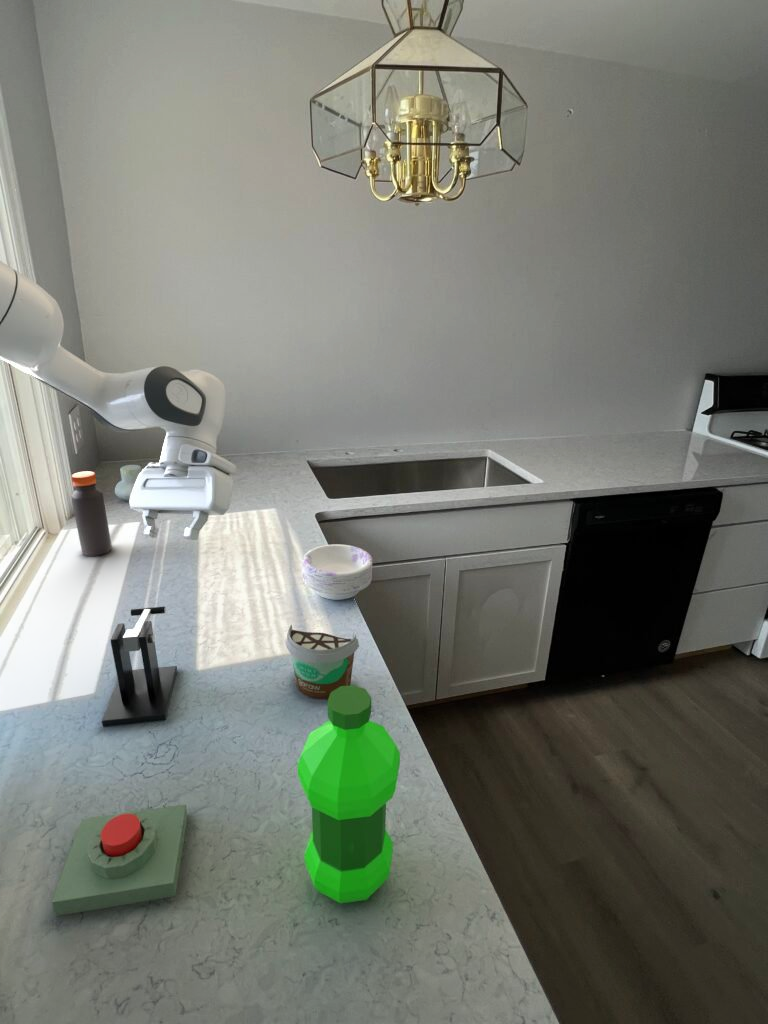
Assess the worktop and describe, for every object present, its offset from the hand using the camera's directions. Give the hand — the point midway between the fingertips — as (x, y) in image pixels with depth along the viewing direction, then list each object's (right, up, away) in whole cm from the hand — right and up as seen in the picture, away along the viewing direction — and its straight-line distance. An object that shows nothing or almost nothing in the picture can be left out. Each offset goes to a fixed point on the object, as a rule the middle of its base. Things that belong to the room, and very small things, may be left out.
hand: (169, 538), depth 94 cm
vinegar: (-35, -5, +44) cm, 57 cm away
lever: (-3, -15, -3) cm, 16 cm away
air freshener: (-41, +9, +79) cm, 90 cm away
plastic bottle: (+33, -37, -31) cm, 58 cm away
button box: (+7, -36, -30) cm, 47 cm away
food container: (+26, -25, -2) cm, 36 cm away
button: (+7, -33, -31) cm, 46 cm away
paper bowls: (+26, -13, +29) cm, 41 cm away
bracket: (-3, -26, -4) cm, 26 cm away
